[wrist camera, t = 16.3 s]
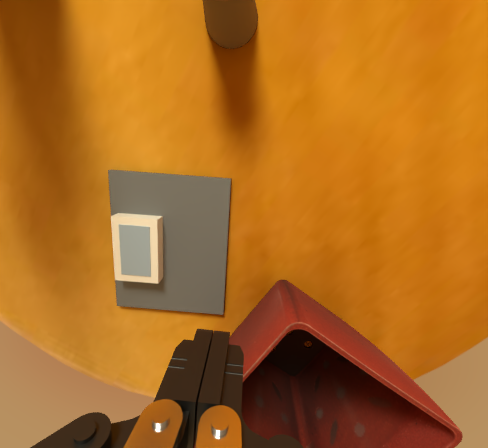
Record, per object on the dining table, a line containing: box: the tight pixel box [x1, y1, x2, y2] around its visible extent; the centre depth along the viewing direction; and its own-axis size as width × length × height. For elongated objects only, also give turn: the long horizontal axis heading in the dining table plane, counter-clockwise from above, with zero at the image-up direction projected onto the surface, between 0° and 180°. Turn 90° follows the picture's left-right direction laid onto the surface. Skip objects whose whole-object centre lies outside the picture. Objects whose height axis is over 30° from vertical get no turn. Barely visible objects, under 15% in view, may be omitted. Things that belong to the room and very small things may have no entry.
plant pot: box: [194, 280, 462, 448], centre depth 31 cm, size 19×19×17 cm
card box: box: [111, 213, 163, 284], centre depth 35 cm, size 9×2×6 cm
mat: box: [108, 170, 231, 315], centre depth 36 cm, size 20×16×1 cm
